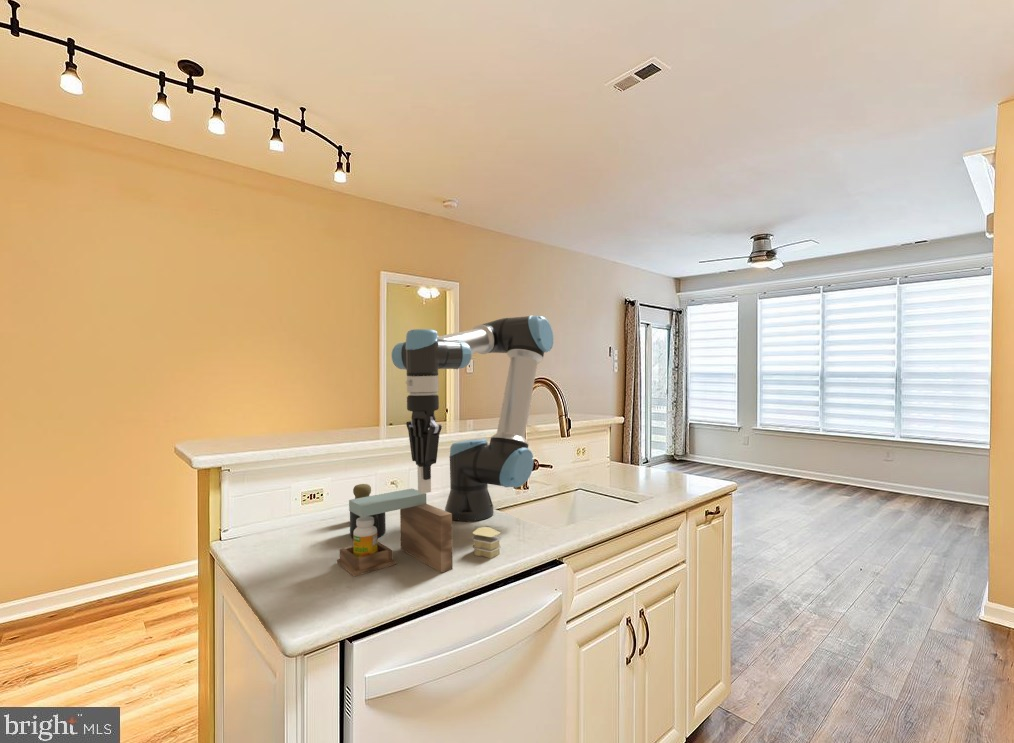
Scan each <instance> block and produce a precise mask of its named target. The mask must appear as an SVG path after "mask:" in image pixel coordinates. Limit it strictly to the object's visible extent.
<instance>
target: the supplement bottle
mask: <svg viewBox="0 0 1014 743" xmlns="http://www.w3.org/2000/svg"><path fill="white" fill-rule="evenodd" d="M373 525H374V518H373V517H370V516H366V517H360V518H358V519H357V520H356V526H357V528H356V529H355V530H354V532H353V538H352V539H353V544H352V546H353V555H354V556H356V557H357V558H358V557H362V556H366V555H370V554H373V553H377V541H378V538H377V528H376V527H375V526H373Z"/></svg>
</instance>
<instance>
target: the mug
mask: <svg viewBox="0 0 1014 743" xmlns="http://www.w3.org/2000/svg"><path fill="white" fill-rule="evenodd" d="M370 517H373V518H374V525H373V526H375V527H376V528H377V539H378V538H380V537H383V536H385V534H386V530H387V529H386V526H387V525H386V512H385V513H380V514H375V515H370ZM358 518H360V516H358V515H356V514H354V513H353V512H351V511H349V536H350V537H351V539H353V532H354V530H355V529H356V528H357V526H356V520H357V519H358Z"/></svg>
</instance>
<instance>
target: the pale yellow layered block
mask: <svg viewBox="0 0 1014 743" xmlns="http://www.w3.org/2000/svg"><path fill="white" fill-rule="evenodd" d="M472 534H473V535H474V536H473V537H472V540H473V545H472V548H473V550H474V556H479V557H480V556H482V557H485V558H489V559H492V558H494V556H495V557H496V556H499V555H500V549H501V548H502V546H501V545H500V541H501V540H502V537H500V536H498V535H500V534H501V532H500V531H497V529H494V528H492V527H489V526H483V527H478V528H477V529H475V530H474V531H473V532H472Z"/></svg>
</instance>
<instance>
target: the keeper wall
mask: <svg viewBox="0 0 1014 743" xmlns="http://www.w3.org/2000/svg"><path fill="white" fill-rule="evenodd" d="M399 511H400V512H399V514H400V516H399V517H400V519H399V520H400V522H399V524H400V527H399V528H400V550H401V551H403V552H404V553H406V554H408V555H410V556H411V557H414V558H415V559H417V560H419V561H421V562H422V563H424V564H425V565H427V566H429V567H431V568H432V569H434V570H436V571H438V572H439V573H444V572H447V571H450V570H453V567H454V566H453V520H452V514H451V513H449V512H446V511H445V509H444V510H443V509H441V508H438V507H436V506H434V505H431V504H428V503H426V504H423V505H418V506H413V507H408V508H404V509H399Z"/></svg>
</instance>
